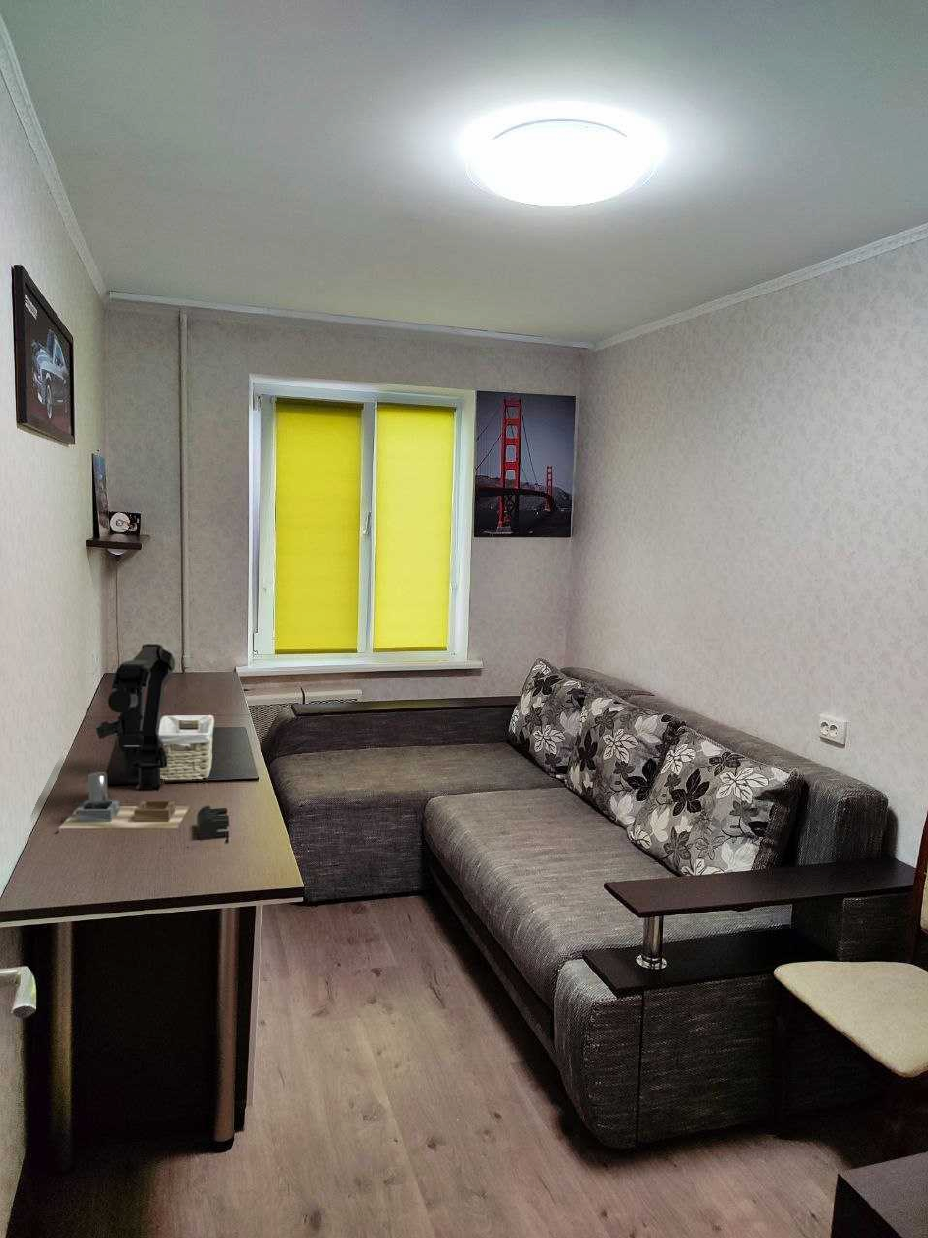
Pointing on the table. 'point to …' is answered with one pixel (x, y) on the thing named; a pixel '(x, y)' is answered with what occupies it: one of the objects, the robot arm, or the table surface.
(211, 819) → the end cap
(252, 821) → the table surface
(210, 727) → the storage basket
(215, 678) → the table surface
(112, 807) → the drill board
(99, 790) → the grey long rounded piece
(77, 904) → the table surface
